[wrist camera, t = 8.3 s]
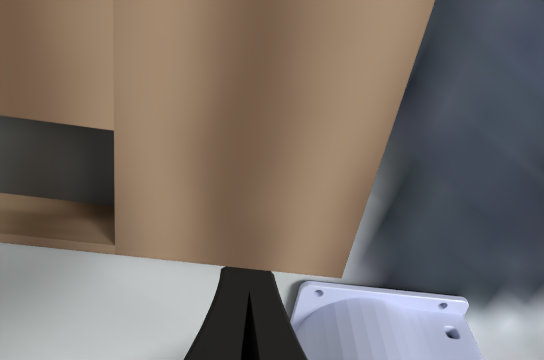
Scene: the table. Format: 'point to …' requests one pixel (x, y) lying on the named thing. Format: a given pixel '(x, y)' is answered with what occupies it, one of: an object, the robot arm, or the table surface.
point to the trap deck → (199, 125)
